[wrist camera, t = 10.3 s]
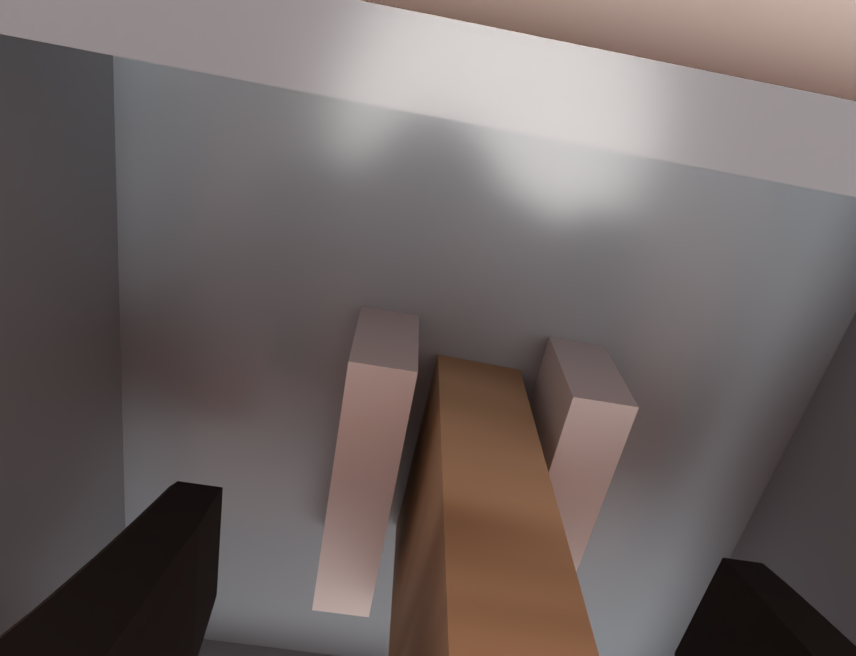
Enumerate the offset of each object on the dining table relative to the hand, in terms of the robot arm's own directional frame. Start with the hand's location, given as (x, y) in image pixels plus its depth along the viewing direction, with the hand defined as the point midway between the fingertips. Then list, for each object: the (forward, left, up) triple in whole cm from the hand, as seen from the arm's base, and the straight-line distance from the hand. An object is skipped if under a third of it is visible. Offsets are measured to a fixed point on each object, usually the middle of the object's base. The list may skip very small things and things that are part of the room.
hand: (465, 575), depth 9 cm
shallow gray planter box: (0, 0, -4) cm, 4 cm away
